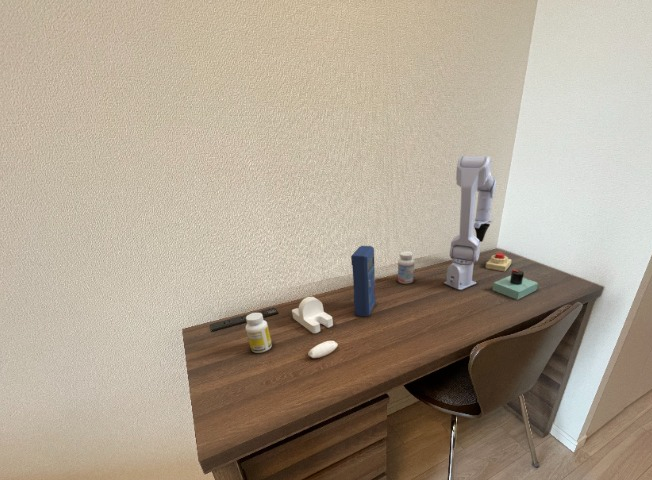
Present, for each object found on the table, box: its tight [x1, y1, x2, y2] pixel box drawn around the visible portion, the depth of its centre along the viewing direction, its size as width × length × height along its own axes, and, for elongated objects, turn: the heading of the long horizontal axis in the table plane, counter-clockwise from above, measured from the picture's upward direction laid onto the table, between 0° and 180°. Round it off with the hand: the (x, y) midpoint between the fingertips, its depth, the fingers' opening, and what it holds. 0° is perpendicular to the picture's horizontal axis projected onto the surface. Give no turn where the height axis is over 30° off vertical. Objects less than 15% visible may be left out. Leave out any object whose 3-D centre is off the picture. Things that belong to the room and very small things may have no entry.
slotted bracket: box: [291, 296, 334, 334], centre depth 96 cm, size 13×7×8 cm, turn 42°
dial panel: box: [492, 275, 539, 301], centre depth 115 cm, size 12×10×3 cm
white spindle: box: [307, 340, 339, 359], centre depth 83 cm, size 3×8×3 cm, turn 131°
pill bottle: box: [397, 251, 415, 285], centre depth 121 cm, size 6×6×11 cm
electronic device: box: [350, 245, 376, 317], centre depth 100 cm, size 10×5×20 cm, turn 168°
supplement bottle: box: [245, 312, 273, 354], centre depth 84 cm, size 5×5×10 cm
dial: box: [510, 269, 525, 285], centre depth 113 cm, size 4×4×4 cm
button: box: [494, 252, 506, 259], centre depth 135 cm, size 4×4×2 cm
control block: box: [485, 254, 512, 272], centre depth 136 cm, size 10×8×4 cm
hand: (479, 241), depth 136 cm, fingers closed
